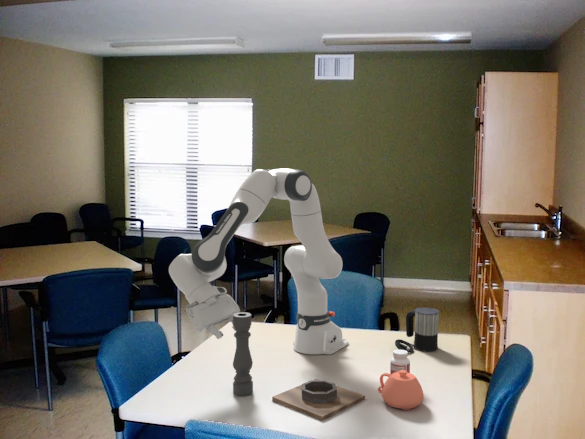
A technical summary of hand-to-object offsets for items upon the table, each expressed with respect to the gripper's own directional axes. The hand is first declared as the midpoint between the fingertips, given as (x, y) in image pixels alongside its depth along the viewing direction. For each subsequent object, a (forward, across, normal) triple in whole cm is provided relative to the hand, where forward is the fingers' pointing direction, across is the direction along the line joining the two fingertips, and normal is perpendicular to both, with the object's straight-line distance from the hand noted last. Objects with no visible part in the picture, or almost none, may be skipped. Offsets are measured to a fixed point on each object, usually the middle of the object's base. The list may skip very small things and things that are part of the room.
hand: (229, 333), depth 194 cm
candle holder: (+16, 0, +10) cm, 19 cm away
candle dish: (+33, +6, -7) cm, 34 cm away
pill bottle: (+45, +30, -19) cm, 57 cm away
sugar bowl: (+49, +16, -22) cm, 56 cm away
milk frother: (+41, +66, -15) cm, 79 cm away
